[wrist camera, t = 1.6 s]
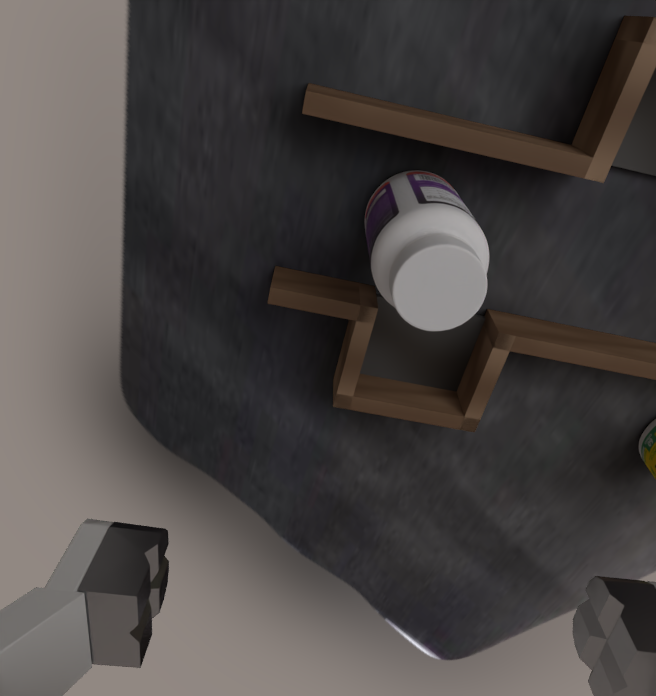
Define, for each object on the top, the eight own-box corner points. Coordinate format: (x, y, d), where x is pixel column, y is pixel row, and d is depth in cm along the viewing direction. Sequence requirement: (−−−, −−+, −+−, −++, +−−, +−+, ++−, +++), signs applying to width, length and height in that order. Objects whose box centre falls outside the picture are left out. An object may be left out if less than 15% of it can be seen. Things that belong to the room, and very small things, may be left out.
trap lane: (334, -60, 26) (334, -67, 24) (922, 93, 29) (979, 102, 27) (257, 365, 38) (251, 391, 35) (685, 444, 41) (709, 474, 38)
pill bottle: (387, 277, 35) (403, 364, 26) (348, 195, 32) (352, 262, 24) (474, 238, 33) (522, 316, 25) (441, 150, 31) (480, 204, 23)
